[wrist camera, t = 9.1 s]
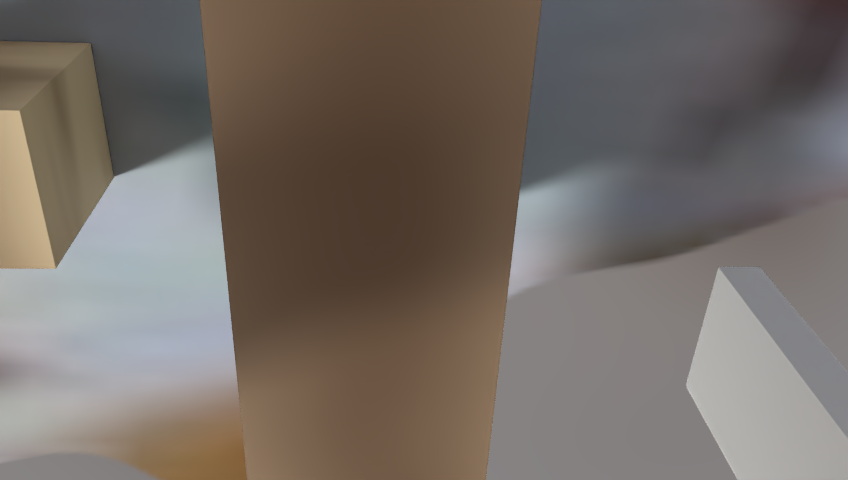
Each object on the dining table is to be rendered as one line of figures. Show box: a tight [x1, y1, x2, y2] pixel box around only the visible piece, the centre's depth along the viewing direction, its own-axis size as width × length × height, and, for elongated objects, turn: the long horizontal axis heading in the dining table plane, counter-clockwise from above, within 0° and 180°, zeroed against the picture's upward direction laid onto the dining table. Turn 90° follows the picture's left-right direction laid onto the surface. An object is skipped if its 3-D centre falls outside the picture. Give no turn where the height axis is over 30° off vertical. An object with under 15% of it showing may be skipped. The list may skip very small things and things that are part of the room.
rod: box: [199, 0, 542, 480], centre depth 14 cm, size 4×22×4 cm, turn 178°
